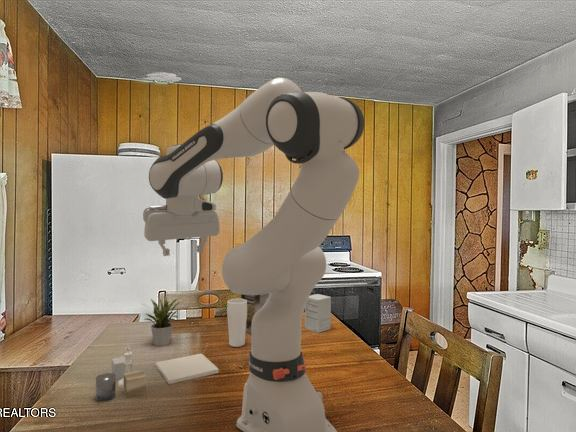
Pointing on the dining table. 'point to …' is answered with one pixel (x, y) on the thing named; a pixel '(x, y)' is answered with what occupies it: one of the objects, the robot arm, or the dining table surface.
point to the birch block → (134, 383)
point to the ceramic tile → (186, 368)
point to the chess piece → (127, 362)
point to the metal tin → (105, 387)
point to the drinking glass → (237, 321)
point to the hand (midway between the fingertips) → (183, 253)
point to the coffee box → (253, 306)
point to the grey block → (119, 367)
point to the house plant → (162, 322)
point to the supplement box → (318, 313)
